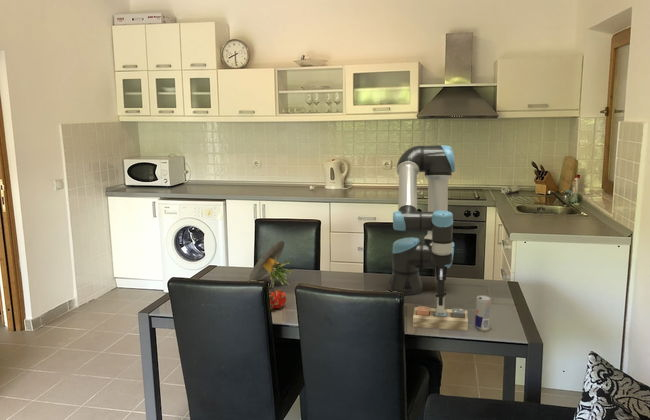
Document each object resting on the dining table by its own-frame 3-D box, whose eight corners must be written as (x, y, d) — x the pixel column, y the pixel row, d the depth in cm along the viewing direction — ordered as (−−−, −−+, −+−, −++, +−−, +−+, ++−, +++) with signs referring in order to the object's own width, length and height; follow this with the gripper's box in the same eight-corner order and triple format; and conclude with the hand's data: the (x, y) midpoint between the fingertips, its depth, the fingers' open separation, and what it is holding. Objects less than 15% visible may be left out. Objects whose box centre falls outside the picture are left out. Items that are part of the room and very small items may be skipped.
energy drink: (475, 324, 204) (476, 294, 201) (490, 326, 202) (491, 295, 200) (474, 330, 199) (475, 299, 196) (490, 331, 197) (491, 300, 195)
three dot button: (434, 321, 204) (434, 314, 204) (434, 316, 208) (434, 310, 208) (446, 322, 203) (446, 315, 203) (446, 317, 207) (446, 310, 207)
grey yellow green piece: (257, 309, 242) (289, 273, 234) (233, 280, 247) (264, 243, 238) (284, 298, 265) (315, 264, 256) (262, 271, 269) (292, 237, 261)
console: (412, 326, 203) (413, 317, 202) (414, 315, 214) (414, 307, 213) (467, 330, 199) (467, 321, 198) (466, 318, 209) (467, 310, 208)
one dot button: (416, 316, 205) (416, 309, 205) (417, 312, 210) (417, 305, 209) (428, 317, 204) (429, 310, 204) (429, 312, 209) (429, 306, 208)
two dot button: (451, 318, 202) (452, 312, 202) (451, 314, 207) (452, 307, 206) (464, 319, 201) (464, 312, 201) (463, 315, 206) (464, 308, 205)
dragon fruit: (265, 316, 220) (283, 310, 231) (279, 307, 216) (296, 302, 226) (256, 297, 223) (274, 292, 233) (270, 288, 219) (287, 284, 229)
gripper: (432, 247, 208) (431, 305, 212) (430, 257, 195) (429, 318, 200) (452, 248, 206) (450, 306, 211) (452, 257, 194) (450, 319, 198)
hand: (440, 312), depth 205 cm, fingers closed
